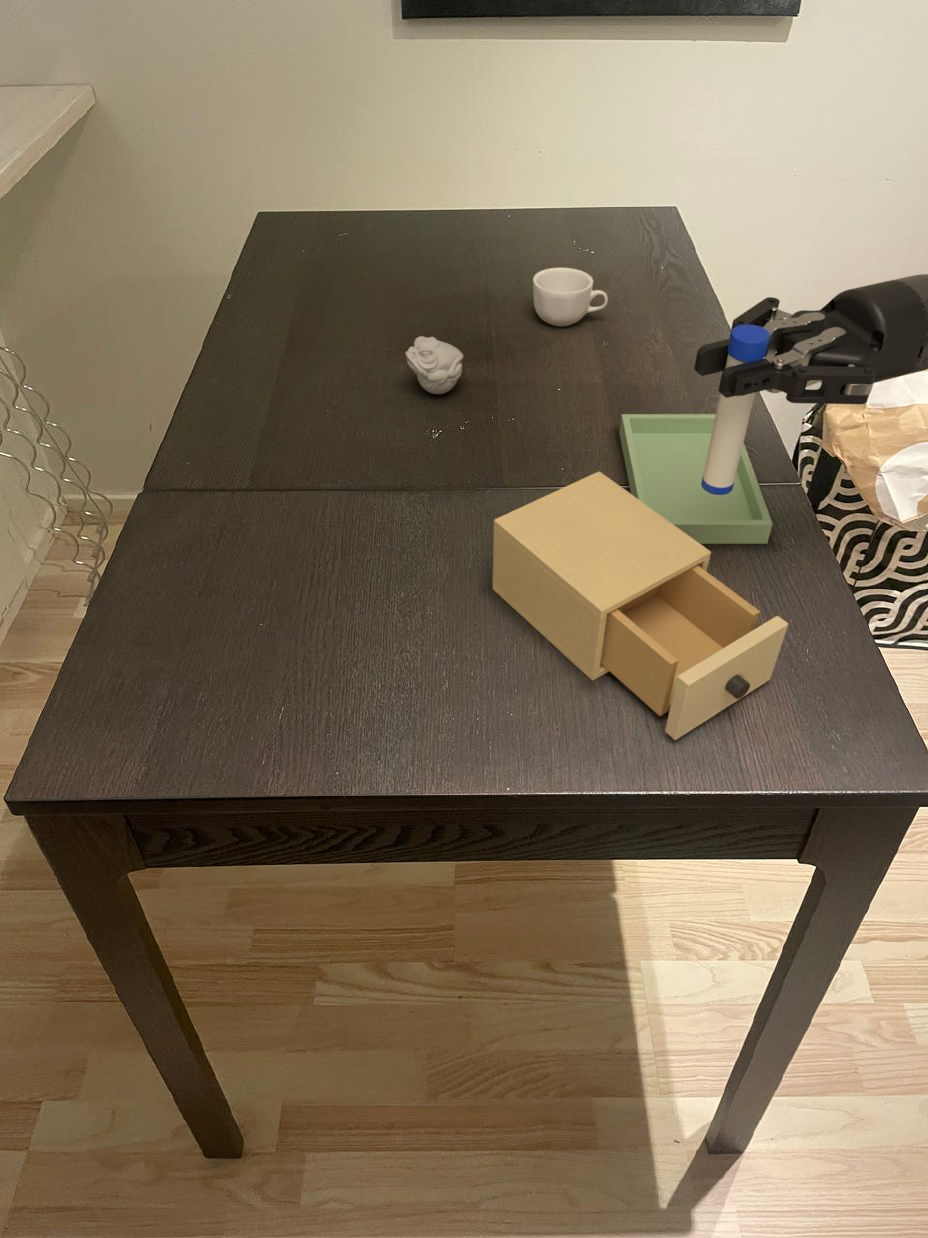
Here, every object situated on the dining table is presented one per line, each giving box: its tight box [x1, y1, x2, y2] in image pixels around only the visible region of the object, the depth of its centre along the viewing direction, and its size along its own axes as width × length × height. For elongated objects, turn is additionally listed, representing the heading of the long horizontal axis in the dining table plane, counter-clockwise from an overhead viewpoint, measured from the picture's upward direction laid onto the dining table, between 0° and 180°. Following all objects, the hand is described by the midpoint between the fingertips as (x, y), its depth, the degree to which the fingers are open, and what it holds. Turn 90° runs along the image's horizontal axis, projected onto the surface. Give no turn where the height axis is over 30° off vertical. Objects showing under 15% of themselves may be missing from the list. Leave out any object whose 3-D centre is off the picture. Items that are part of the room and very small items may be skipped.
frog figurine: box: [404, 335, 464, 395], centre depth 113 cm, size 6×7×7 cm
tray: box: [618, 413, 773, 545], centre depth 101 cm, size 20×13×2 cm, turn 0°
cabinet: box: [492, 471, 712, 682], centre depth 86 cm, size 14×12×8 cm
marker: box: [701, 325, 770, 495], centre depth 76 cm, size 3×3×14 cm
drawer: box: [600, 565, 789, 741], centre depth 80 cm, size 15×11×7 cm
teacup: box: [532, 267, 609, 327], centre depth 126 cm, size 10×8×5 cm
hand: (711, 372), depth 72 cm, fingers closed on marker, 3 cm apart
